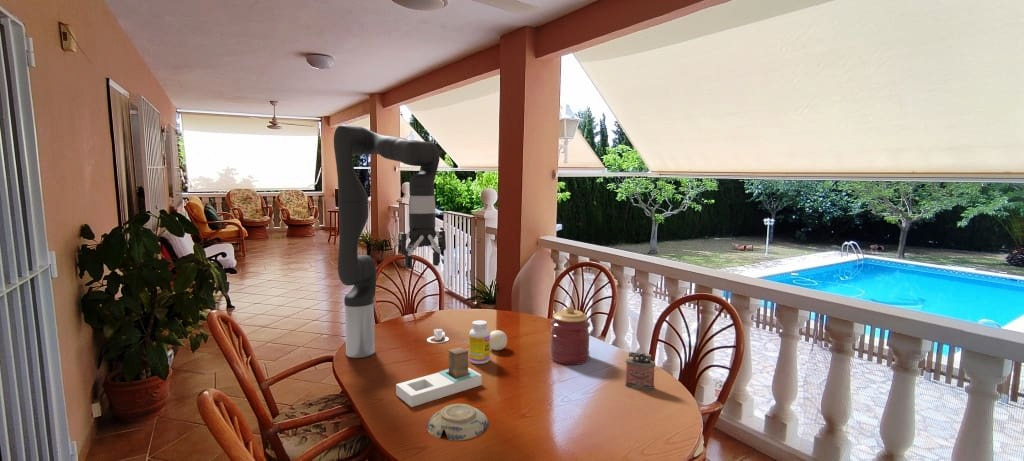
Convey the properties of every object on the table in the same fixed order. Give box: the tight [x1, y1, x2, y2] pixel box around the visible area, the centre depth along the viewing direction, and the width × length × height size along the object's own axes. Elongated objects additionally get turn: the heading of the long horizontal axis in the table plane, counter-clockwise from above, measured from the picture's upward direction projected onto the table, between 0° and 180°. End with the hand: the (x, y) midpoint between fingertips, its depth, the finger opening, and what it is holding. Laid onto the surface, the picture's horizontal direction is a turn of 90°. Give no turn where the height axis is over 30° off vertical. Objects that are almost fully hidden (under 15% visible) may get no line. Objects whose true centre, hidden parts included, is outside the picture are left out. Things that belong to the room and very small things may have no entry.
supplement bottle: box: [468, 319, 491, 365], centre depth 154 cm, size 7×7×13 cm
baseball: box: [490, 329, 508, 351], centre depth 165 cm, size 7×7×7 cm
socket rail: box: [395, 367, 483, 408], centre depth 133 cm, size 9×22×3 cm, turn 128°
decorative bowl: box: [426, 403, 490, 441], centre depth 115 cm, size 15×4×15 cm
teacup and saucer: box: [426, 328, 450, 344], centre depth 175 cm, size 9×8×4 cm
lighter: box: [624, 351, 656, 391], centre depth 135 cm, size 8×3×10 cm, turn 71°
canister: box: [549, 305, 591, 365], centre depth 157 cm, size 13×13×18 cm
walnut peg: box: [448, 346, 469, 379], centre depth 136 cm, size 4×4×10 cm
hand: (422, 267), depth 139 cm, fingers open, 8 cm apart
